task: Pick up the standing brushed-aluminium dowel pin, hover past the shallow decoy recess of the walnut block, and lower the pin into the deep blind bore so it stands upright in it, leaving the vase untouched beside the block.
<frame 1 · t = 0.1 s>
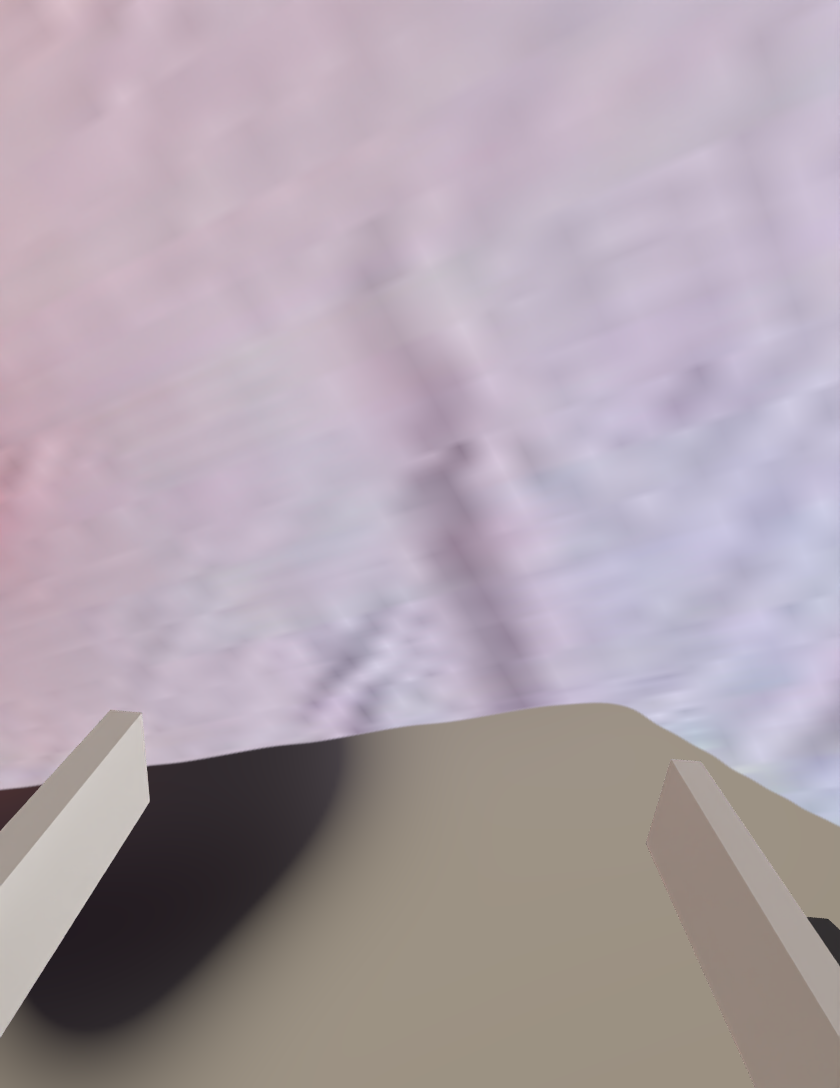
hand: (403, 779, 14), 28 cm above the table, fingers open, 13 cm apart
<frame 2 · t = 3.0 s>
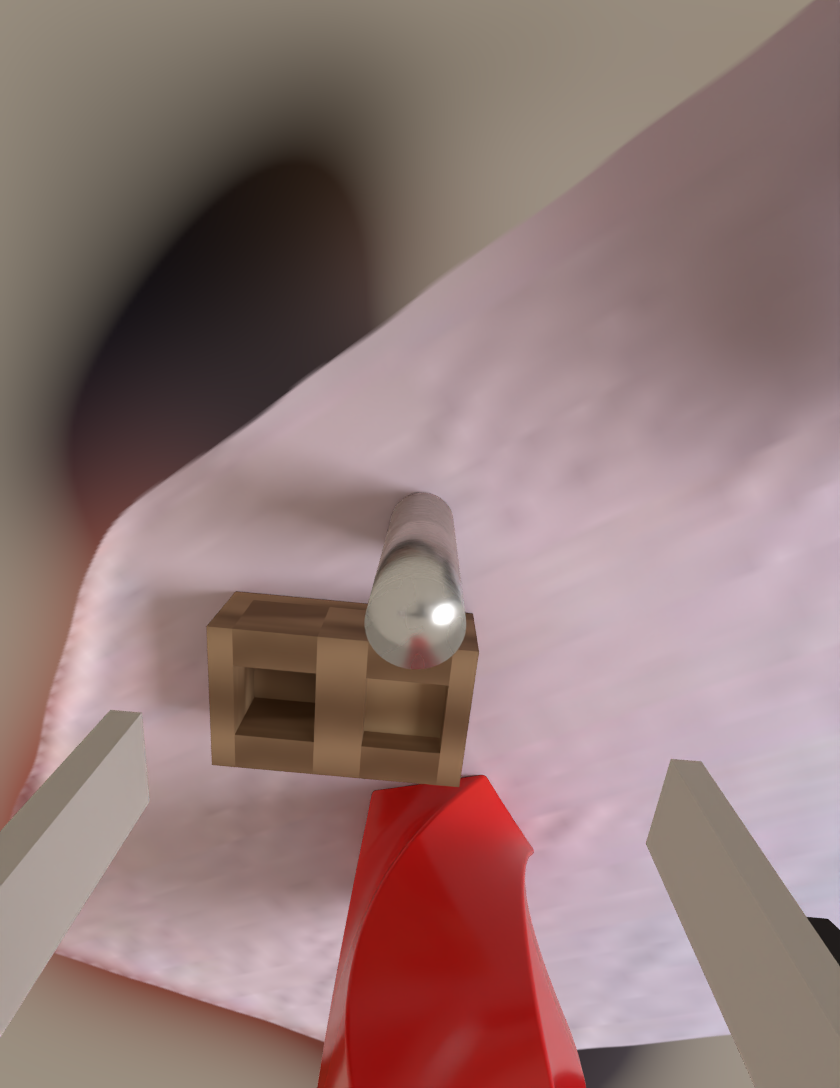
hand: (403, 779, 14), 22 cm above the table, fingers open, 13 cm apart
pin: (422, 523, 34), on the table
vase: (447, 834, 43), on the table
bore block: (350, 667, 38), on the table
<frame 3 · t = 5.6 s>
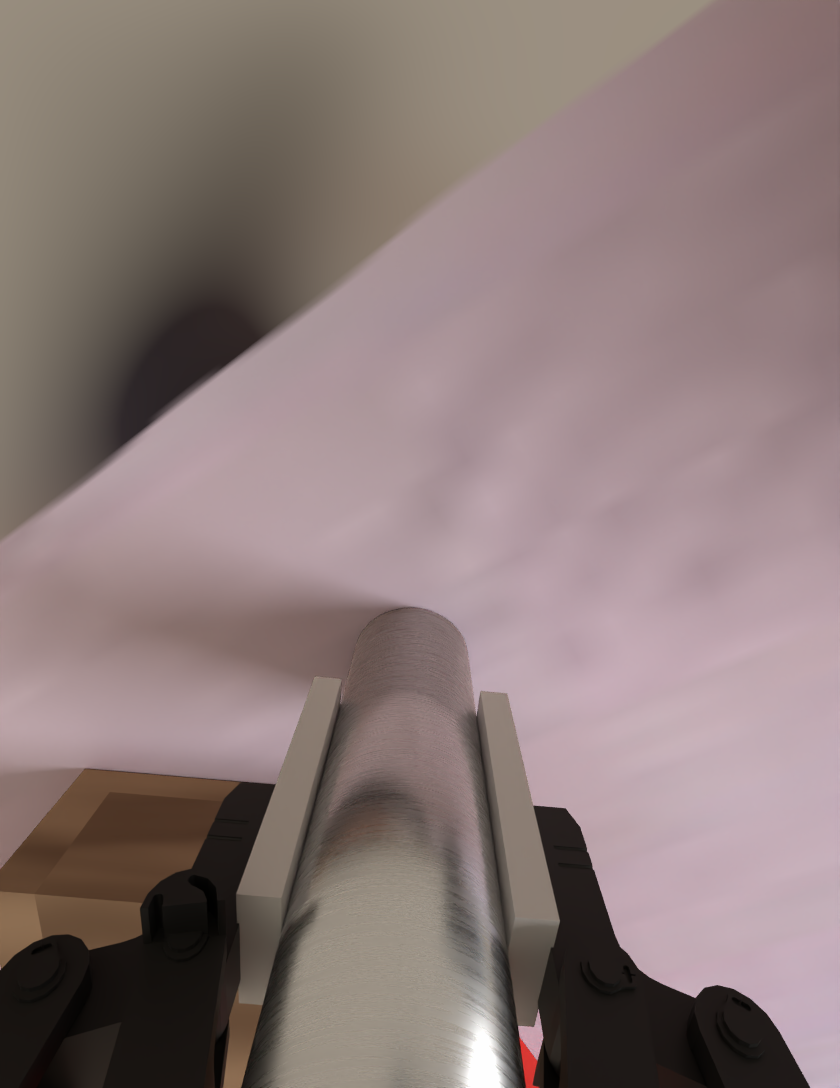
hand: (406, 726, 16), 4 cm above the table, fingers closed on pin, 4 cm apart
pin: (411, 659, 19), on the table, touching gripper
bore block: (291, 882, 22), on the table
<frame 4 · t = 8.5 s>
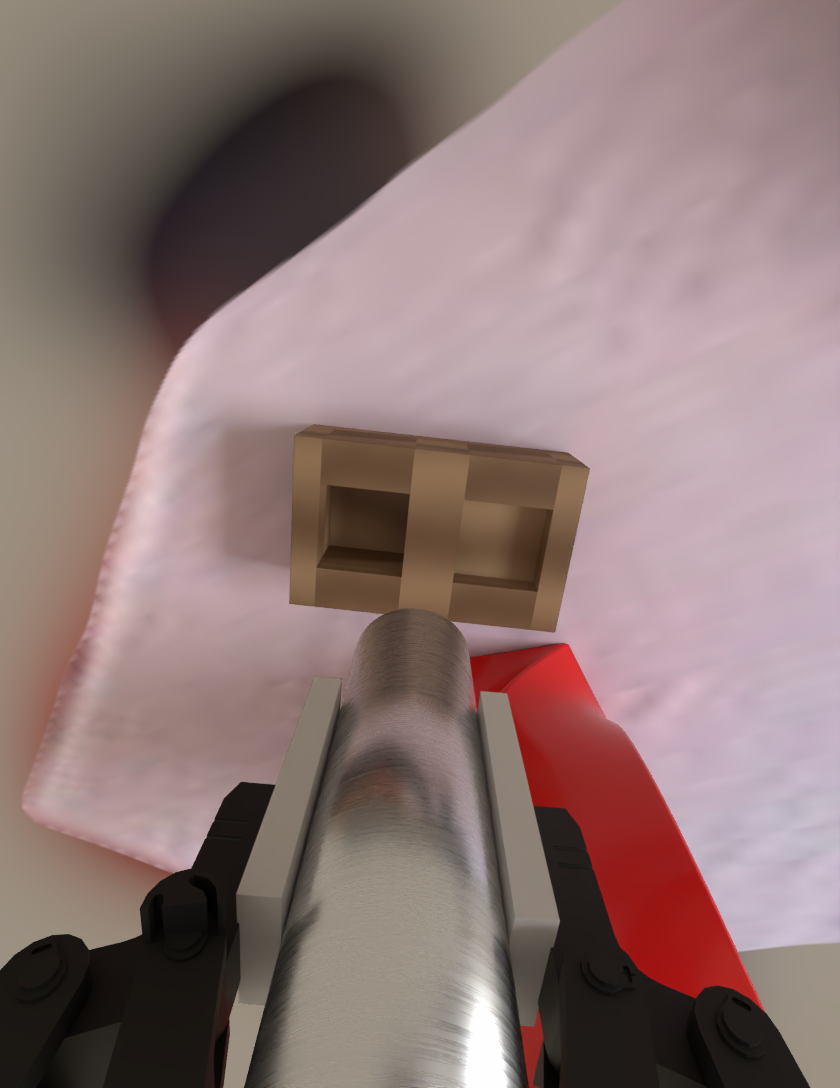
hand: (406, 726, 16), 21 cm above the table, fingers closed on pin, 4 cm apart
pin: (412, 660, 19), point 18 cm above the table, touching gripper
vase: (522, 712, 41), on the table
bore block: (432, 515, 35), on the table
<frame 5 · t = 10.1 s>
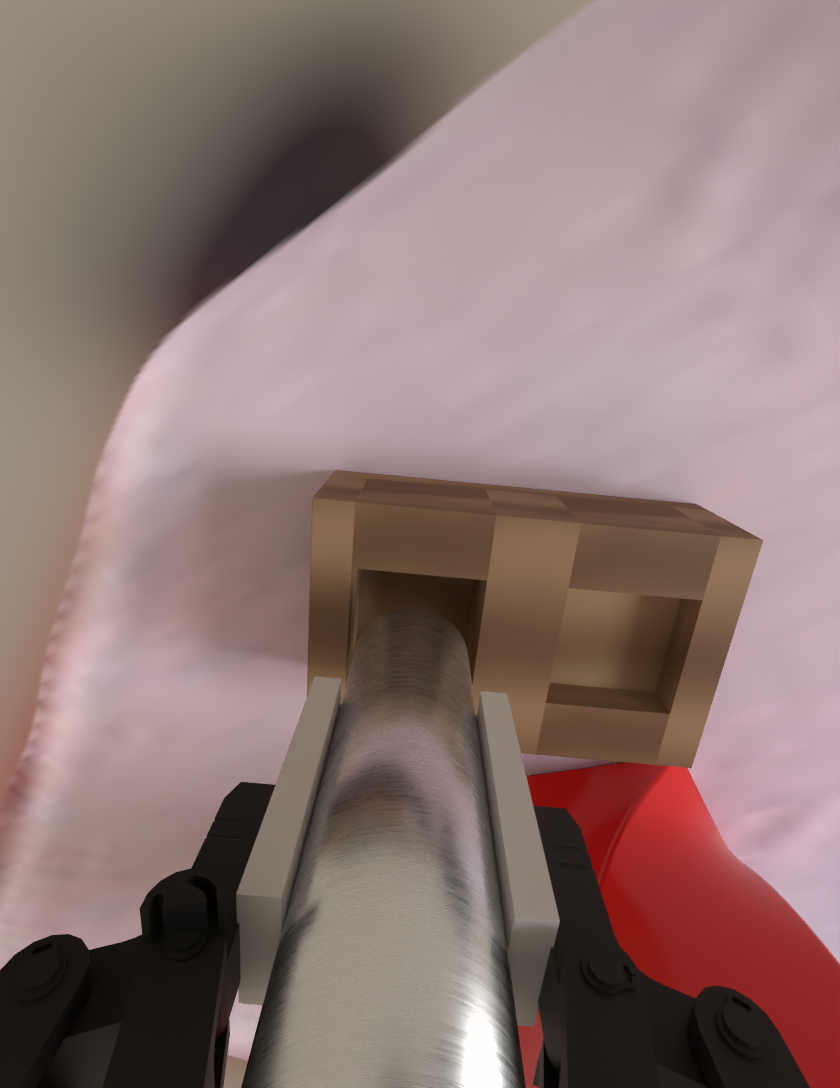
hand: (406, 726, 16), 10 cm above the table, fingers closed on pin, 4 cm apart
pin: (411, 660, 19), point 7 cm above the table, touching gripper
vase: (613, 840, 30), on the table
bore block: (501, 591, 25), on the table
when the fingers open (7 cm above the table, at t = 11.3 s): pin drops 2 cm, resting on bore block.
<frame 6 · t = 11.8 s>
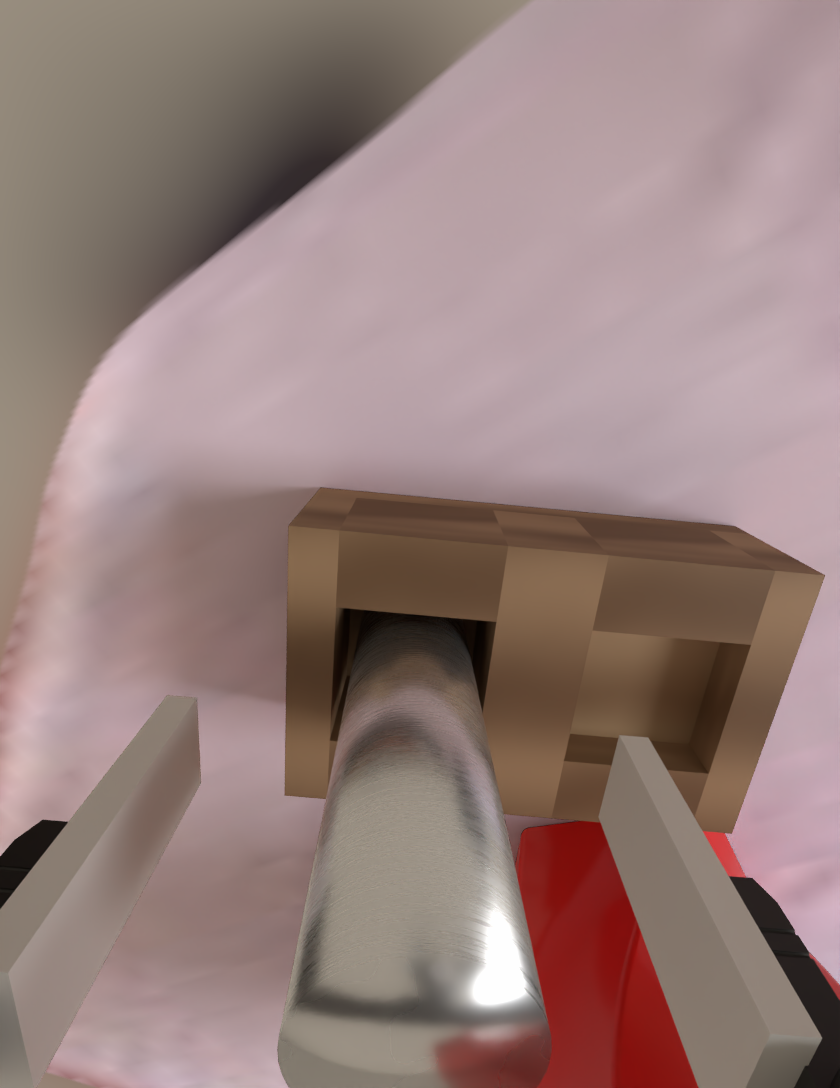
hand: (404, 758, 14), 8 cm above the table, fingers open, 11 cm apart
pin: (412, 627, 21), point 1 cm above the table, touching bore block
vase: (632, 894, 27), on the table
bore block: (510, 623, 22), on the table
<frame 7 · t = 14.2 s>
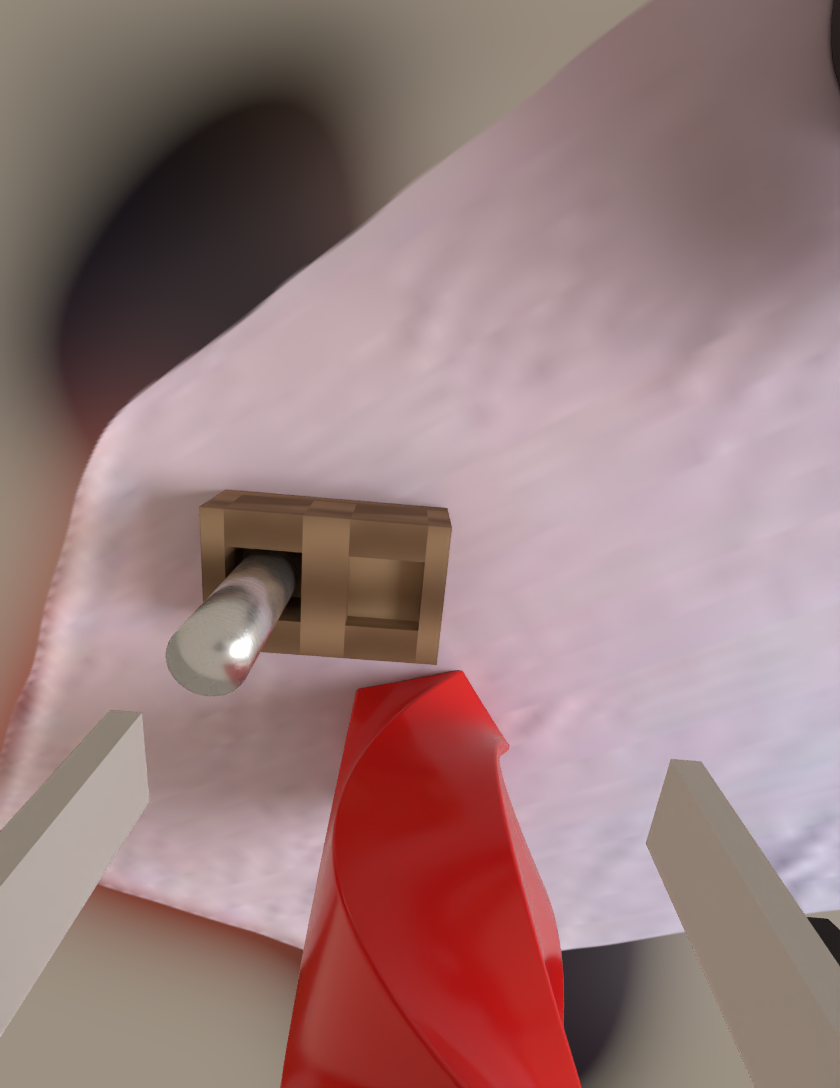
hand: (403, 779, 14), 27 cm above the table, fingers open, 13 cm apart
pin: (277, 564, 40), point 1 cm above the table, touching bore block
vase: (428, 732, 46), on the table
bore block: (334, 563, 41), on the table
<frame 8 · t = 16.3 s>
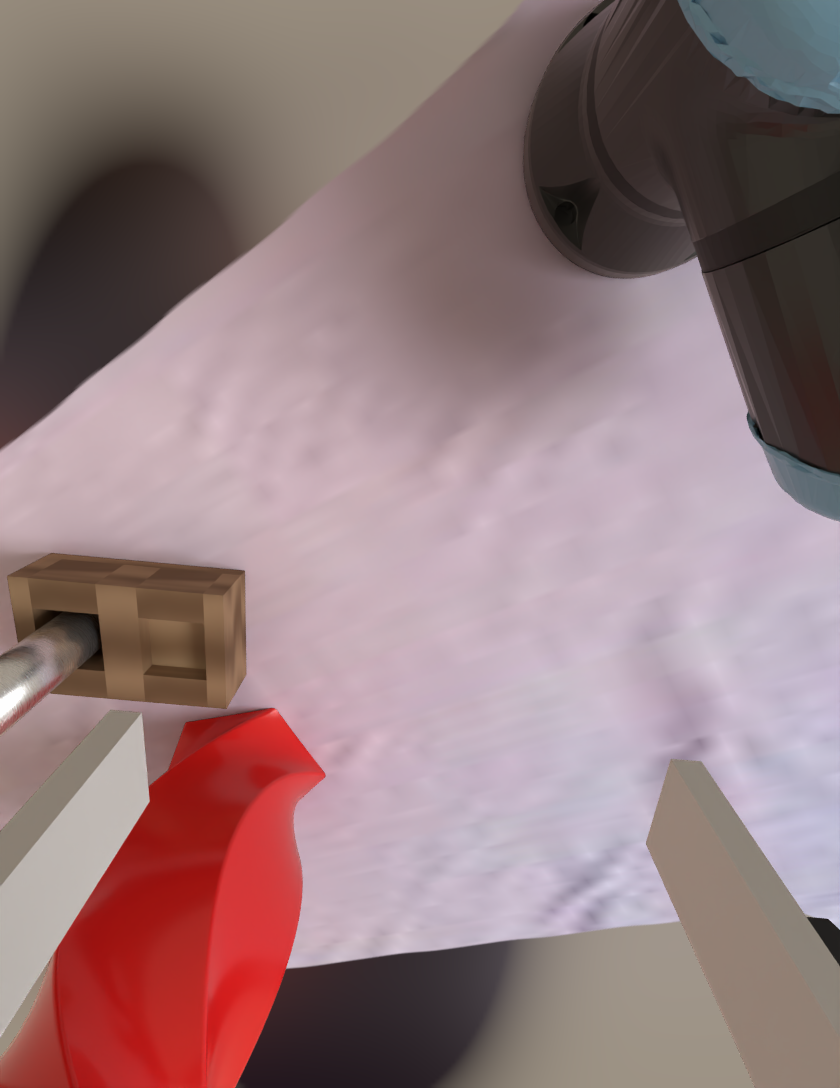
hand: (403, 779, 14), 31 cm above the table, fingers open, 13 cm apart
pin: (98, 617, 45), point 1 cm above the table, touching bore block
vase: (252, 760, 52), on the table
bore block: (152, 616, 47), on the table
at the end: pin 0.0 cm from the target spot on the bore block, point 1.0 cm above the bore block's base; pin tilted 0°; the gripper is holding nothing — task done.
